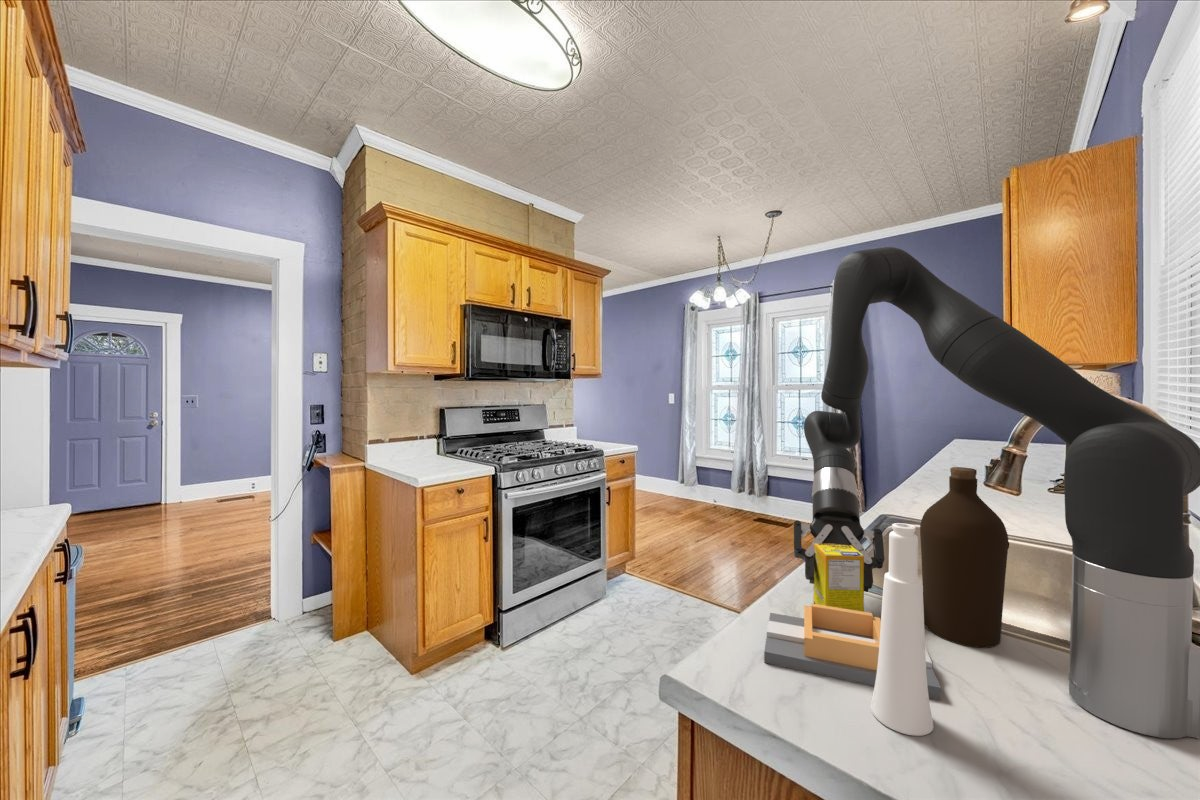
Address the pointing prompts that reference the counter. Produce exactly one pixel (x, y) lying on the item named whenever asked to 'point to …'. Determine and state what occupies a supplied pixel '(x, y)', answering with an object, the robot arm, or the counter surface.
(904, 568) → the cosmetic bottle
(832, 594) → the supplement box
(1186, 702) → the robot arm
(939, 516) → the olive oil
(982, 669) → the counter surface
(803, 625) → the rail mount
